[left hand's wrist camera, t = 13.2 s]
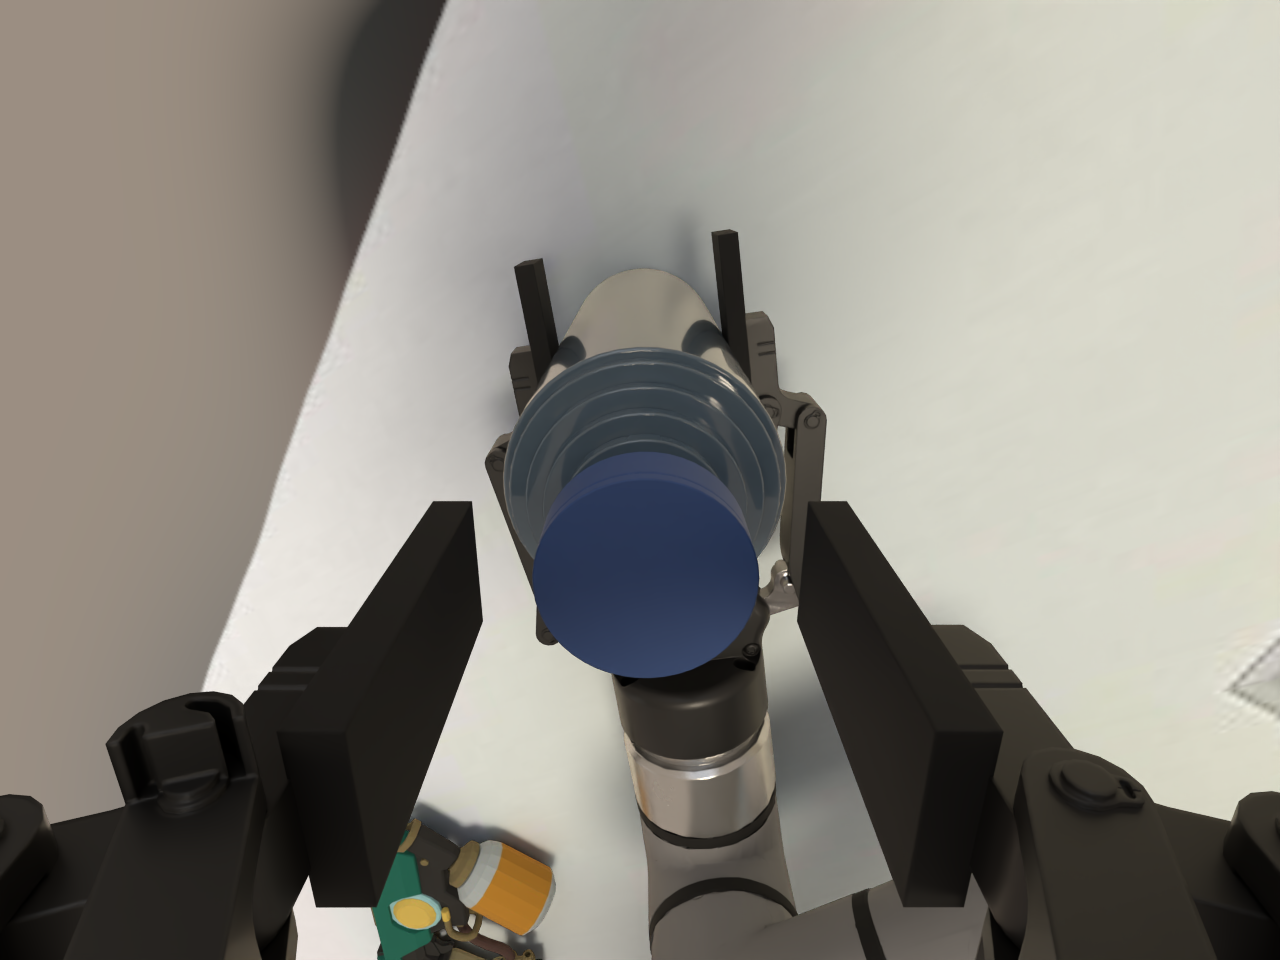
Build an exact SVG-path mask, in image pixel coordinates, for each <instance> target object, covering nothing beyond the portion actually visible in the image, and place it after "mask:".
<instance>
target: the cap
mask: <svg viewBox="0 0 1280 960" xmlns="http://www.w3.org/2000/svg"><path fill="white" fill-rule="evenodd" d="M532 581H533V592H534V597H535V602H536V605H537V607H538V610H539V613H540V615H541V617H542V619H543V621H544V623H545V625H546V626H547V628H548V629H549V631H550V632H551V634H552V635H553V636H554V637H555V639H556V640H557V641H558V642H559V643H560V644H561V645H562V646H563V647H564V648H565V649H567V650H568V651H569V652H570V653H571V654H572V655H574V656H575V657H577V658H578V659H580V660H582V661H583V662H585V663H587V664H589V665H591V666H593V667H595V668H597V669H600V670H603V671H605V672H608V673H612V674H616V675H620V676H626V677H634V678H657V677H666V676H671V675H675V674H680V673H683V672H686V671H689V670H692V669H694V668H696V667H698V666H700V665H703V664H705V663H706V662H708V661H710V660H711V659H713V658H714V657H716V656H717V655H719V654H720V653H721V652H722V651H724V650H725V649H726V648H727V647H728V646H729V645H730V644H731V643H732V642H733V641H734V640H735V639H736V638H737V636H738V635H739V634H740V633H741V631H742V630H743V629H744V627H745V625H746V623H747V622H748V620H749V618H750V616H751V614H752V611H753V608H754V606H755V603H756V599H757V594H758V587H759V567H758V561H757V557H756V552H755V549H754V546H753V543H752V540H751V537H750V534H749V530H748V527H747V524H746V521H745V518H744V516H743V513H742V510H741V508H740V506H739V504H738V503H737V501H736V499H735V497H734V496H733V495H732V493H731V492H730V491H729V489H728V488H727V487H726V486H725V485H724V484H723V483H722V482H721V481H720V480H719V479H718V478H717V477H716V476H714V475H713V474H712V473H711V472H709V471H708V470H707V469H705V468H703V467H701V466H700V465H698V464H696V463H694V462H692V461H689V460H687V459H684V458H682V457H678V456H675V455H671V454H666V453H659V452H633V453H625V454H621V455H617V456H612V457H610V458H607V459H604V460H602V461H599V462H597V463H595V464H593V465H591V466H590V467H588V468H586V469H585V470H583V471H582V472H580V473H579V474H578V475H576V476H575V477H574V478H573V479H572V480H571V481H570V482H569V483H568V484H567V485H566V486H565V487H564V488H563V489H562V491H561V492H560V493H559V494H558V496H557V497H556V499H555V501H554V502H553V504H552V506H551V508H550V510H549V513H548V515H547V517H546V521H545V524H544V527H543V531H542V534H541V538H540V541H539V544H538V548H537V551H536V555H535V559H534V564H533V573H532Z"/></svg>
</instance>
